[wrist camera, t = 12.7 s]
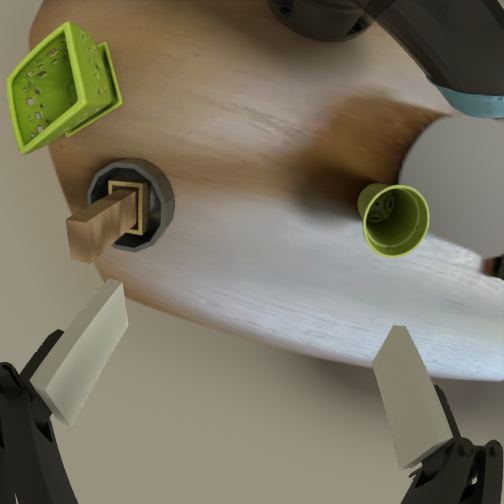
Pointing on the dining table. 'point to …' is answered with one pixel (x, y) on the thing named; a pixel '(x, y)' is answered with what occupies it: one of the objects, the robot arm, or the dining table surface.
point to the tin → (150, 200)
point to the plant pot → (393, 218)
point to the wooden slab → (102, 223)
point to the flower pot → (61, 87)
